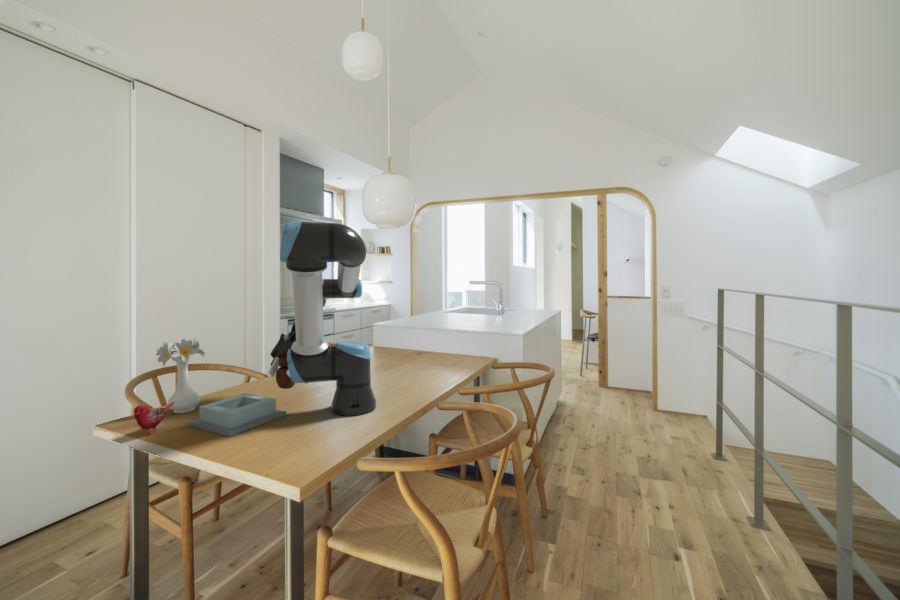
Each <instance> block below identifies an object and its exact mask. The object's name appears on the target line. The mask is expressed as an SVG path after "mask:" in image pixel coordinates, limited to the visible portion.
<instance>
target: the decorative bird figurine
mask: <svg viewBox="0 0 900 600" xmlns="http://www.w3.org/2000/svg"><path fill="white" fill-rule="evenodd" d="M173 403H174V402H172V403H171V404H169V405H168V404H167V405H166V406H165V407H152V408H151V407H148V406H147V405H144V404H139V405H137V406H136V407H135V409H133V410H134V411H133V417H134V419H135V420H136V423H137V425H138V426H139V428H141V429H144V430H151V431H149V432H148V434H145V437H147V436H150V435H149V434H151V435H152V434H153V433H155V432H156V431H157V430H158V428H157V427H158V426H159V425H160V424H161V422H162V421H163V420H164V418H165V417H166V415H167V412H168V410H169V409H171V408H170V407H171V406H172V404H173ZM154 431H155V432H154Z"/></svg>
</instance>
